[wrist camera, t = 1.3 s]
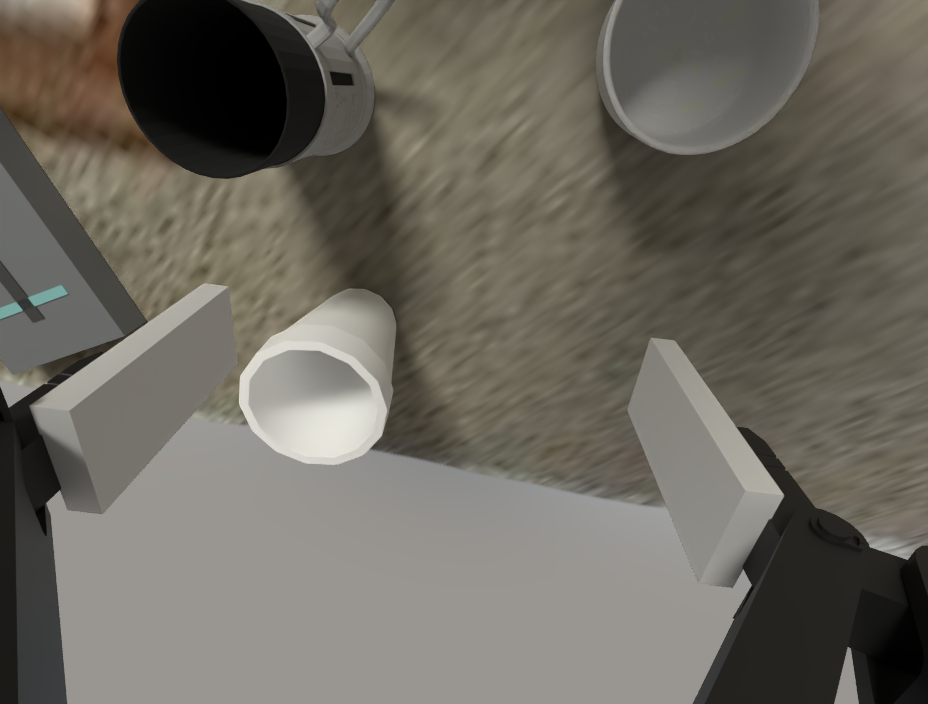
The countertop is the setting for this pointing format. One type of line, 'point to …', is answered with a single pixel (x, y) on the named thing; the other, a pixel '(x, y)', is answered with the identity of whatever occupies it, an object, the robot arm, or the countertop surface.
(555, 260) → the countertop surface
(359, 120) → the glass holder
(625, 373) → the countertop surface
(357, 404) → the foam cup
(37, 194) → the fader console
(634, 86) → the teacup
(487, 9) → the countertop surface
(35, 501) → the robot arm
